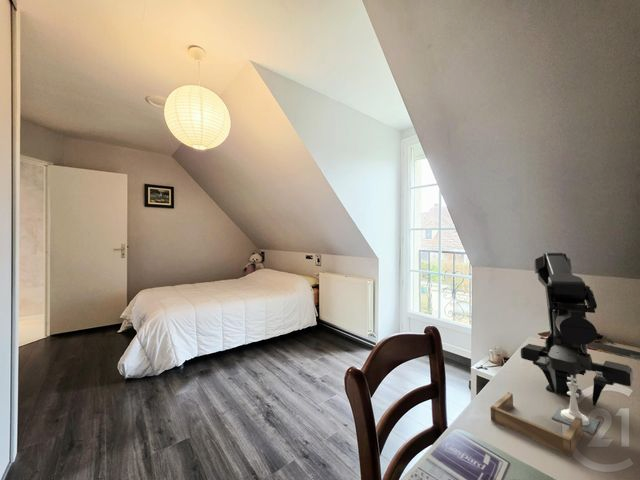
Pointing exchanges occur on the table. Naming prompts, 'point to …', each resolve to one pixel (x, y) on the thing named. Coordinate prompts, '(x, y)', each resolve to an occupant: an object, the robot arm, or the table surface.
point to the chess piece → (573, 404)
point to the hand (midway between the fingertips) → (573, 398)
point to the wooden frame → (536, 427)
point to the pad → (557, 416)
